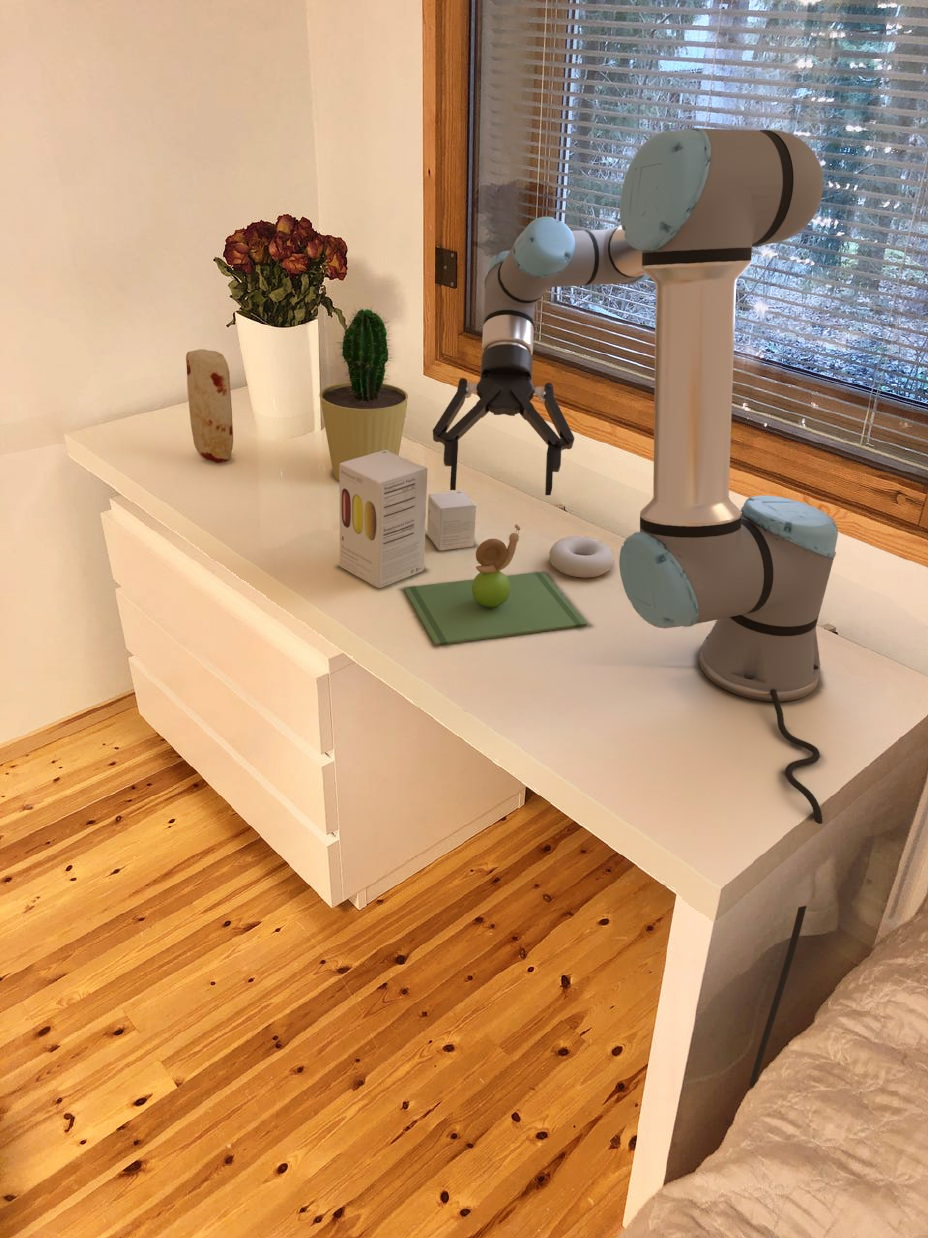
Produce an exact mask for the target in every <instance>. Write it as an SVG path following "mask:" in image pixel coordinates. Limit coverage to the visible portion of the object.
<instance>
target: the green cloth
mask: <svg viewBox="0 0 928 1238" xmlns="http://www.w3.org/2000/svg"><path fill="white" fill-rule="evenodd" d="M505 576H506V577H507V578H508V580H509V583H510V594H509V596H508V598H507V600H506V601H505V602H504V603H503V604H501V605H500V606H497V607H492V608H490V607H485V606H482V605H481V604H479V603H478V602H477V601H476V600H475V598H474V596H473V594H472V583H473V580H474V579H468V580H466V579H465V580H458V581H449V582H439V583H432V584H431V583H430V584H421V585H412V586H404V587H403V590H404V593H405V594H406V596H407V599H408V600H409V601H410V604H411V606H412V607H413V609H414V610H415V612H416V615H417V616H418V618H419V619H420V621H421V623H422V624H423V626H424V628H425V630H426V632H427V634H428V635H429V637H430V639H431V640H432V643H433V644H434V646H443V645H450V644H458V643H465V642H473V641H481V640H488V639H489V640H490V639H496V638H504V637H505V638H506V637H511V636H520V635H526V634H535V633H542V632H549V631H557V630H566V629H572V628H578V627H586V626H587V622H586V621H585V620H584V619H583V617H582V616H581V614H579V612H578V611H577V610H576V608H574V606H573V605H572V603H571V602H570V601H569V600H568V599H567V598H566V596H565V595H564V594H563V593H562V591H561V590H560V589H559V587H558V586H557V585H556V584H555V583H554V582H553V580H552V579H551V578H550V577H549V576H548V574H547V573H546V572H545V571H536V572H529V573H528V572H527V573H521V574H511V575H510V574H509V575H505Z"/></svg>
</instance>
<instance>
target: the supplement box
mask: <svg viewBox="0 0 928 1238" xmlns="http://www.w3.org/2000/svg"><path fill="white" fill-rule="evenodd" d="M339 475H340V481H339V567H340V568H342V569H344V570H345V571H347V572H349V573H351V574H352V575H354V576H356V577H357V578H359V579H361V580H362V581H365V582H366V583H367V584H370V585H372V586H373V587H375V588H377V589H382V588H384V587H387V586H389V585H392V584H394V583H397V582H399V581H402V580H404V579H407V578H409V577H412V576H414V575H416V574H419V573H422V572H424V569H425V548H426V547H425V545H426V543H425V542H426V519H427V514H426V513H427V493H428V492H427V491H428V467H426V466H423V465H421V464H418V463H416V462H414V461H411V460H409V459H407V458H404V457H402V456H400V455H399V456H398V455H396V454H394V453H392V452H390V451H388V450H383V451H379V452H376V453H373V454H369V455H366V456H362V457H359V458H356V459H352V460H348V461H345V462H342V463H340V464H339Z"/></svg>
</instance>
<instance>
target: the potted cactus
mask: <svg viewBox="0 0 928 1238" xmlns="http://www.w3.org/2000/svg"><path fill="white" fill-rule="evenodd" d="M373 306H374V305H372V307H370V309H369V308H365V309H364V308H361V307H360V306H359V310H357V308H356V307H355V306H354V305H353V307H354V313H353V312H352V310H350V311H351V313H352V314H351V315H350V318H351V319H347V320H348V323H349V325H348V327H347V328H344V329H345V330H341V329H340V331H341V332H344V334H342V336H343V337H342V338H340V341H337V342H336V344H338V345H340V346H339V350H341V351H340V354H341V355H340V356H339V358H340V360H341V361H343V364H344V365H343V366H345V369H347V371H345V374H344V375H342V376H343V378H348V379H344V380H346V381H345V382H339V383H335V384H332V385H329V386H327V387H324V388H323V389H321V391H320V392H319V395H318V396H319V398H320V405H321V410H322V417H323V423H324V428H325V433H326V441H327V447H328V451H329V458H330V463H331V470H332V473H333V477H334V478H335V479H336V480H337V481H339V482H340V475H339V464H340V463H342V462H345V461H348V460H352V459H356V458H359V457H362V456H366V455H369V454H373V453H376V452H379V451H383V450H388V451H390V452H392V453H394V454H396V455H398V456H400V451H401V443H402V438H403V432H404V425H405V419H406V414H407V410H408V409H407V407H408V399H409V394H408V393H407V392H406V390H404V389H403V388H400V387H398V386H396V385H393V384H388V383H387V382H386V381H390V379H388V378H387V377H389V378H390V377H391V376H390V375H386V374H385V373H386V368H387V367H389V364H387V363H388V362H391V360H392V359H393V358H394V355H391V354H389V350H390V349H391V348H388V347H390V344H388V342H389V341H390V339H388V338H387V337H389V334H388V332H389V329H388V328H389V327H391V324H390V325H389V326H387V327H386V324H388V323H389V322H390V320H388V321H387V318H385V317H381V315H382V314H381V313H380V314H379V313H378V312H374V310H372V308H374V307H373ZM352 316H353V317H352ZM391 335H393V334H392V333H391ZM392 362H394V361H393V360H392ZM385 376H387V377H385Z"/></svg>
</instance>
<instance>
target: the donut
mask: <svg viewBox="0 0 928 1238" xmlns="http://www.w3.org/2000/svg"><path fill="white" fill-rule="evenodd" d="M548 553H549V554H548V555H549V562H550V563H551V565H552V566H553V567H554V569H556V570H557V571H559V572H560V573H562V574H565V575H567V576H571V577H576V578H585V579H586V578H596V577H599V576H602V575H604V574H606V573H607V572H609V571H610V570H611V568H613V565H614V563H615V556H614V552H613V550H612V549H611V548H610V547H609V546H608V544H606V543H605V542H603V541H601V540H598V539H596V538H593V537H588V536H567V537H563V538H561V539H559V540H558V541H555V542H554V543H553V544H552V546H551V548H550V549H549V552H548Z"/></svg>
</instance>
